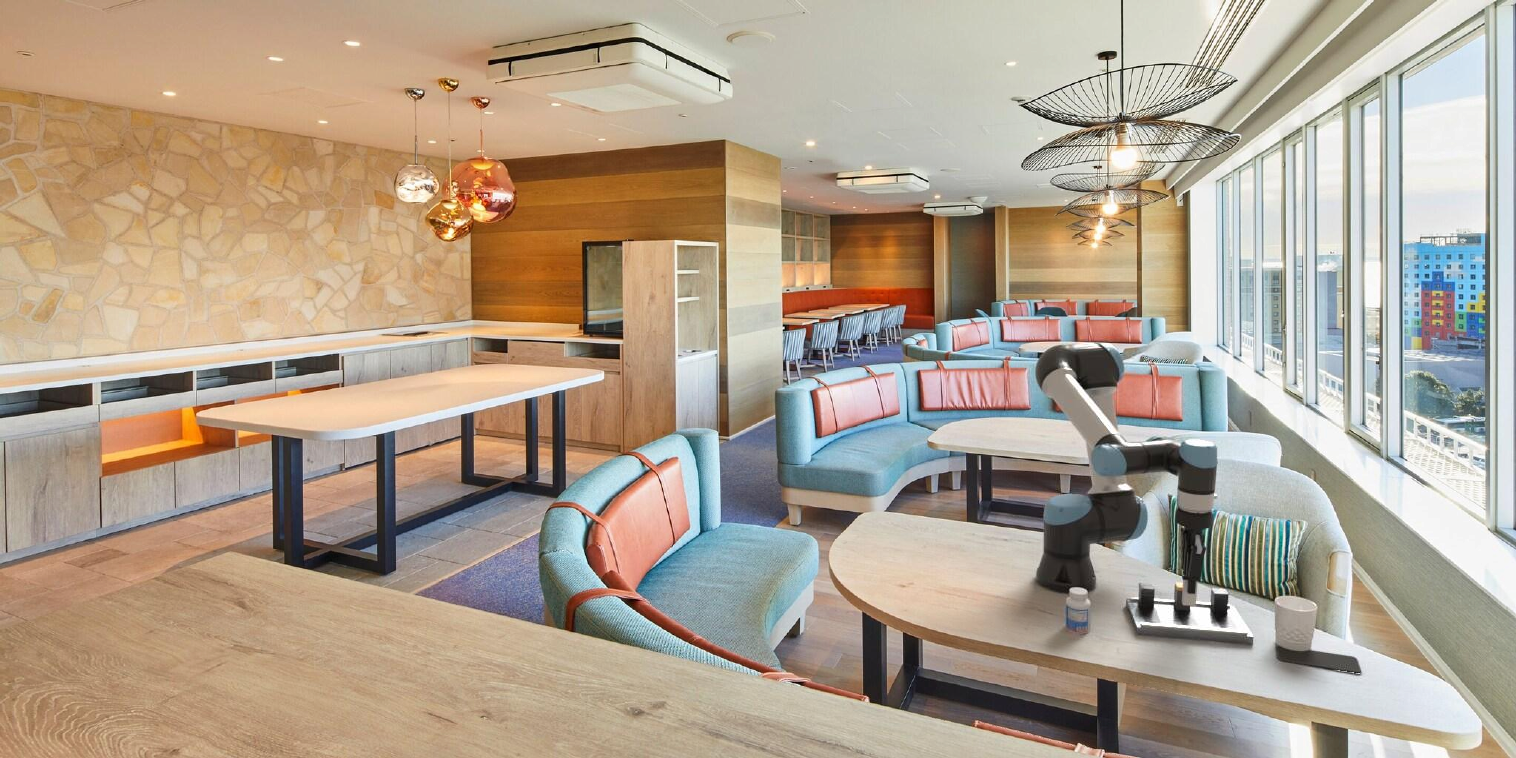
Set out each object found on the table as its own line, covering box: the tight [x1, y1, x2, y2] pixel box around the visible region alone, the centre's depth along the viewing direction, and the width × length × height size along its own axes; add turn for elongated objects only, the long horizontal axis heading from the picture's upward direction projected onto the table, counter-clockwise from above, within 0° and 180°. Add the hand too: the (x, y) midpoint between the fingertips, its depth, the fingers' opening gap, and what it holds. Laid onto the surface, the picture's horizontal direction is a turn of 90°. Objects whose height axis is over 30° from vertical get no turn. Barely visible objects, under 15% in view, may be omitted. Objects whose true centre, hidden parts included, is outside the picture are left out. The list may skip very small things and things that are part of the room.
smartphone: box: [1275, 645, 1362, 674], centre depth 177 cm, size 7×1×15 cm
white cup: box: [1274, 595, 1318, 651], centre depth 183 cm, size 8×8×10 cm
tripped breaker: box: [1173, 581, 1190, 611], centre depth 199 cm, size 3×3×6 cm
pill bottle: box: [1065, 587, 1092, 635], centre depth 194 cm, size 6×5×10 cm
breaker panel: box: [1125, 582, 1254, 646], centre depth 195 cm, size 24×16×7 cm, turn 74°
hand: (1188, 604), depth 192 cm, fingers closed
